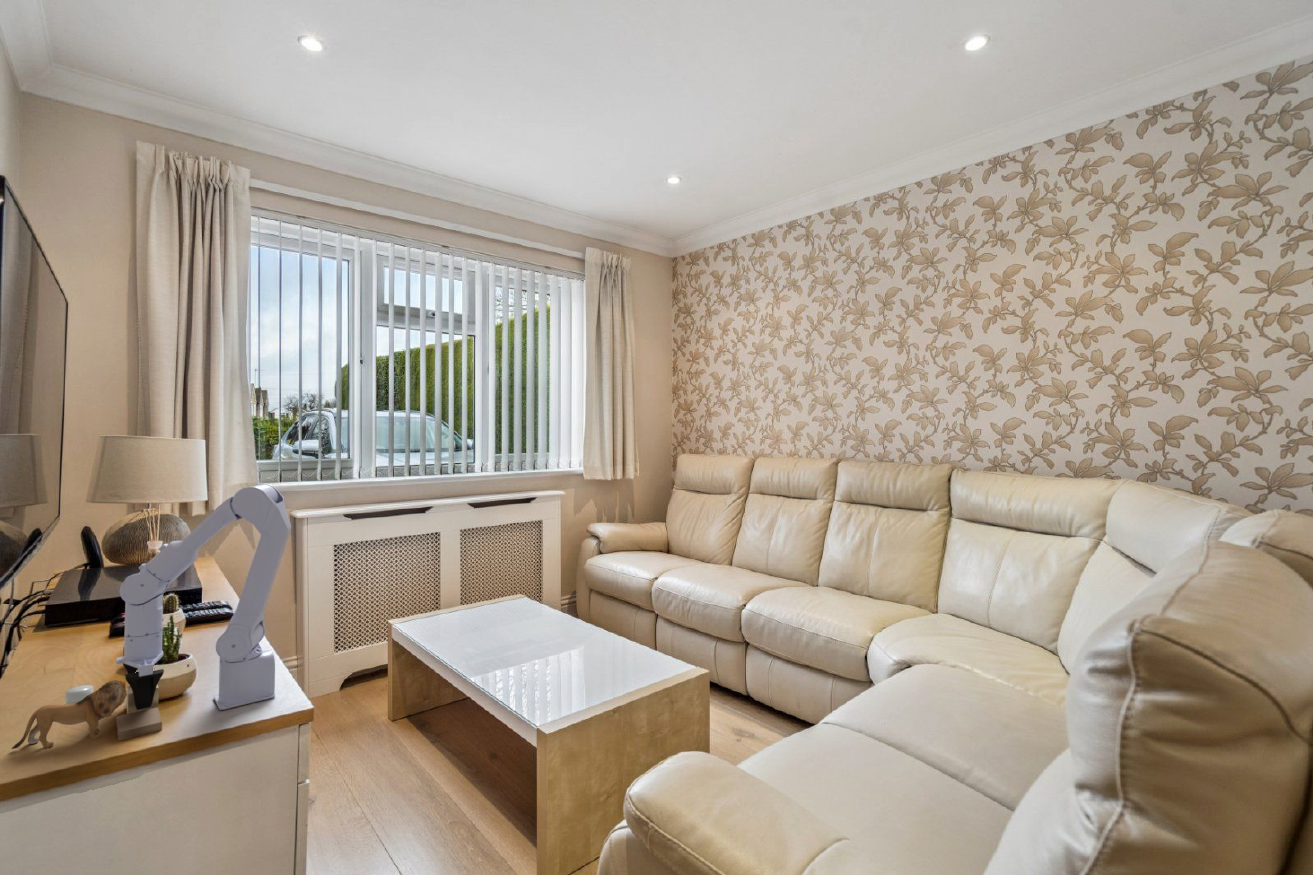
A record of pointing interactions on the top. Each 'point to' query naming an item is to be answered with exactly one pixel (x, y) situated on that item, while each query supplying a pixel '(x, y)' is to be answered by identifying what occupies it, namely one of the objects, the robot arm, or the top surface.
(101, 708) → the lion figurine
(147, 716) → the plinth
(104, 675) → the top surface
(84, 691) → the silver rounded block
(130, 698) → the oak block
